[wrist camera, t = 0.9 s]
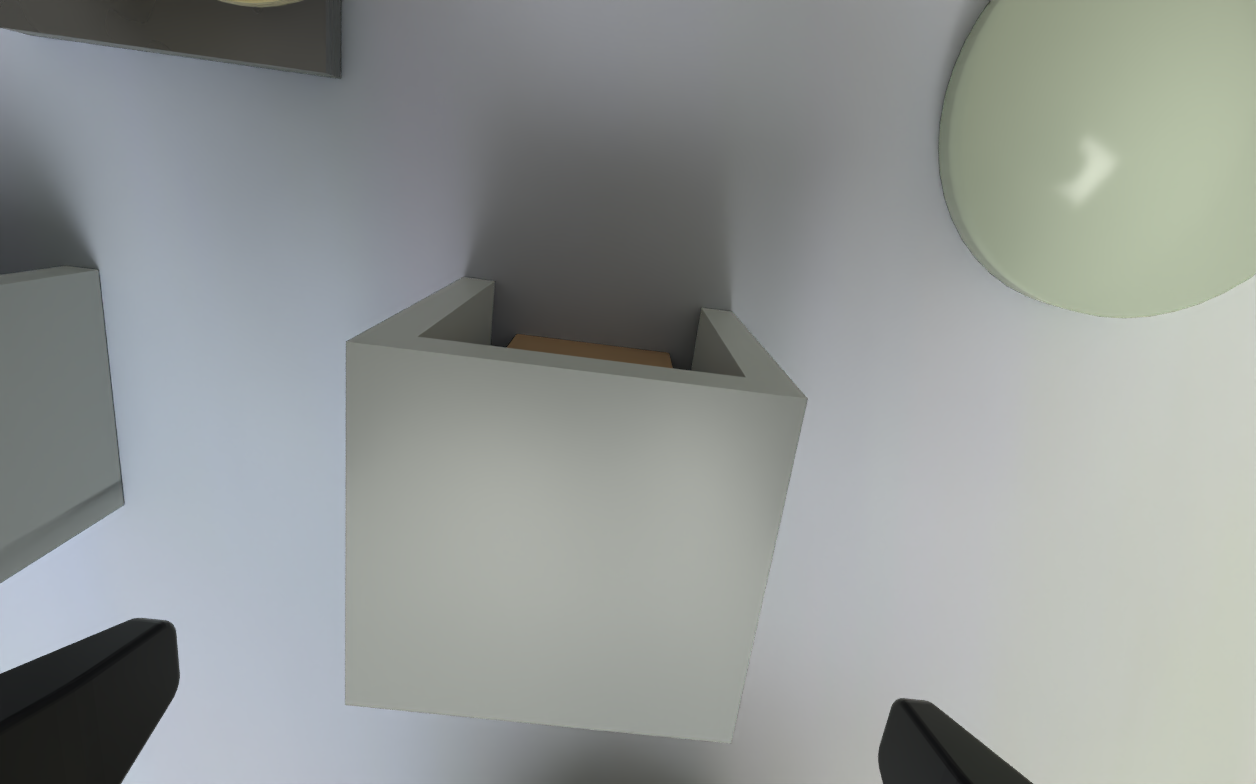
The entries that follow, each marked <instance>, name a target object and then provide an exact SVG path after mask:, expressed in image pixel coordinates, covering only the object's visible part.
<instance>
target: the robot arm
mask: <svg viewBox="0 0 1256 784" xmlns="http://www.w3.org/2000/svg"><path fill="white" fill-rule="evenodd" d="M179 679H180V671H179V659H178V648H177V636H176V629H175V627H174V625H173V624H172V623H171V622H169V621H166V620H157V619H148V618H134V619H131V620H128V621H126V622H123V623H121V624H119V625H116V626H114V627H111V628H109V629H107V630H104V631H102V632H99V633H97V634H95V635H92V636H90V637H87V638H85V639H83V640H80V641H78V642H76V643H73V644H71V645H68V646H66V647H64V648H61V649H59V650H56V651H54V652H52V653H49V654H47V655H44V656H42V657H40V658H37V659H35V660H32V661H30V662H28V663H25V664H23V665H20V666H18V667H16V668H13V669H11V670H8V671H6V672H4V673H1V674H0V784H121V783H122V781H123V780H124V778H125V776H126V775H127V773H128V771H129V770H130V768H131V767H132V765H133V763H134V762H135V760H136V758H137V757H138V755H139V753H140V752H141V750H142V749H143V747H144V745H145V744H146V742H147V740H148V739H149V737H150V736H151V734H152V732H153V731H154V729H155V727H156V726H157V724H158V722H159V721H160V719H161V718H162V716H163V714H164V713H165V711H166V709H167V708H168V706H169V705H170V703H171V701H172V699H173V698H174V696H175V693H176V691H177V688H178V685H179ZM878 762H879V769H880V773H881V777H882V781H883V784H1033V783H1032V782H1030V781H1029V780H1028V779H1027V778H1025V777H1024V776H1023V775H1022V774H1020V773H1019V772H1018V771H1017V770H1015V769H1014V768H1013V767H1012V766H1010V765H1009V764H1008V763H1007V762H1005V761H1004V760H1003V759H1002V758H1000V757H999V756H998V755H997V754H995V753H994V752H993V751H992V750H990V749H989V748H988V747H987V746H985V745H984V744H983V743H981V742H980V741H979V740H978V739H976V738H975V737H974V736H973V735H971V734H970V733H969V732H968V731H966V730H965V729H964V728H963V727H961V726H960V725H959V724H958V723H956V722H955V721H954V720H953V719H951V718H950V717H949V716H948V715H946V714H945V713H944V712H943V711H941V710H940V709H939V708H938V707H936V706H935V705H934V704H932V703H931V702H928V701H925V700H916V699H906V698H900V699H897V700H896V701H895V702H894V703H893V705H892V707H891V710H890V713H889V717H888V720H887V723H886V726H885V730H884V733H883V736H882V740H881V743H880V747H879V753H878Z"/></svg>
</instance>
